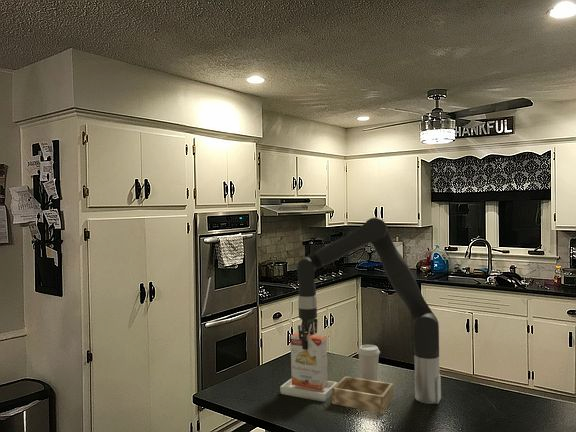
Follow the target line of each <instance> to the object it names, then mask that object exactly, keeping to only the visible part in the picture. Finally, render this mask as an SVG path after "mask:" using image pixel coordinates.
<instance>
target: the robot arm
mask: <svg viewBox="0 0 576 432" xmlns="http://www.w3.org/2000/svg"><path fill="white" fill-rule="evenodd" d="M370 243H371V244H372V247H374V250H376V253H377V254H378V256H379V259H380V262H381V265H382V267H383V270H384V272H385V274H386V277H387V279H388V281H389V283H390V285H391V287H392V288H393V290H394V291H395V293H396V294H397V295H398V296H399V298H400V299H401V300H402V301H403V303H404V304H405V306H406V308H407V309H408V311H409V314H410V316H411V318H412V321H413V350H414V397H415V398H414V399H415V400H416V401H417V402H420V403H422V404H423V403H424V404H428V405H430V404H431V405H432V404H434V405H435V404H436V405H438V404H440V401H441V399H442V387H441V386H442V383H441V382H442V381H441V377H442V375H441V374H440V327H439V326H440V325H439V320H438V318H437V316H436V315H435V314H434V312H433V311H432V310H431V308H430V306H429V304H428V303H427V302H426V300H425V298H424V296H423V294H422V291H421V289H420V287H419V285H418V282H417V280H416V278H415V276H414V275H413V273H412V270H411V269H410V268H411V267H409V265H408V263H407V262H406V260H405V258H404V257H403V256H402V255H401V253H400V252H399V251H398V249H397V247H396V245H394V242H393V240H392V238H391V236H390V233H389V231H388V227H387V223H386V222H385V220H383V219H381V218H379V217H371V218H369V219H368V220H366V221H365V223H364V224H363V225H361V226H360V227H358V228H356V230H354V231H352V232H351V233H349V234H348V235H345V236H344V237H341V238H339V239H337V240H335V241H333V242H331V243H329V244H327V245H325V246H323V247H321V248H320V249H318V250H317V251H315V252H313V253H310V254H308V255H307V256H304V257H303V258H301V259H300V260H299V261H298V262H297V265H296V272H297V282H298V299H297V301H298V302H297V303H298V306H297V307H298V308H297V309H298V319H300V320H301V325H299V324H298V325H297V329H298V331H297V333H299V340H302V349H304V350H307V349H308V335H310V334H314V335H316V334H318V320H319V319H318V318H317V317H318V306H317V305H318V303H317V302H318V301H317V292H316V291H317V289H316V283H315V271H317V270H319V269H320V268H322V267H324V266H328V265H330V264H332V263H333V262H335V261H338V260H340V259H341V258H343V257H344V256H346V255H347V254H349V253H350V252H353V251H354V250H356V249H358V248H360V247H362V246H364V245H367V244H370ZM301 335H302V337H301Z"/></svg>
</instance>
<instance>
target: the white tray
mask: <svg viewBox="0 0 576 432" xmlns="http://www.w3.org/2000/svg"><path fill="white" fill-rule="evenodd" d="M338 382H339V381H338ZM338 382H337V381H332V380H328V386H327V387H325V388H324V389H323V390H317V389H312V388H306V387H301V386H295V385H292V377H290V379H288V380H287V381H285V382H284V383H283V384H282V385H280V386H279V388H280V390H279V391H280V394H281V395H285V396H289V397H290V396H291V397H296V398H301V399H308V400H313V401H317V402H323V403H325V402H327V401H328V400H329V399H330V398H332V388H333V387H334V386H335V385H336V384H337V383H338Z"/></svg>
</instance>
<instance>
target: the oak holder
mask: <svg viewBox="0 0 576 432" xmlns="http://www.w3.org/2000/svg"><path fill="white" fill-rule="evenodd" d="M331 398H332V399H331V400H332V404H333V405H337V406H344V407H348V408H353V409H359V410H365V411H370V412H375V413H381V414H384V413H385V412H386V410H387V409H388V407H389V406H390V404H391V403H392V402H393V400H394V398H395V397H394V383H391V382H386V381H385V382H384V381H380V380H379V381H378V380H377V381H373V380H367V379H361V377H360V378H359V377H353V376H343V377H342V378H341V379H340V380H339V381H338V383H337V384H336V385H335V386H334V387H333V388H332V396H331Z"/></svg>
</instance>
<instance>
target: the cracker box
mask: <svg viewBox="0 0 576 432" xmlns="http://www.w3.org/2000/svg"><path fill="white" fill-rule="evenodd" d="M301 337H302V335H301ZM327 339H328V337H327V335H323V334H315V335H314V334H310V335H308V349H307V350H304V349H302V340H299V332H298V331H297V332H295V333H293V334H291V335H290V363H291V364H290V365H291V366H290V368H291V369H290V371H291V372H290V373H291V378H292V385H295V386H301V387H306V388H312V389H317V390H323V389H324V388H325V387H327V386H328V381H329V380H328V377H329V376H328V344H327V342H328V341H327Z"/></svg>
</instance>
